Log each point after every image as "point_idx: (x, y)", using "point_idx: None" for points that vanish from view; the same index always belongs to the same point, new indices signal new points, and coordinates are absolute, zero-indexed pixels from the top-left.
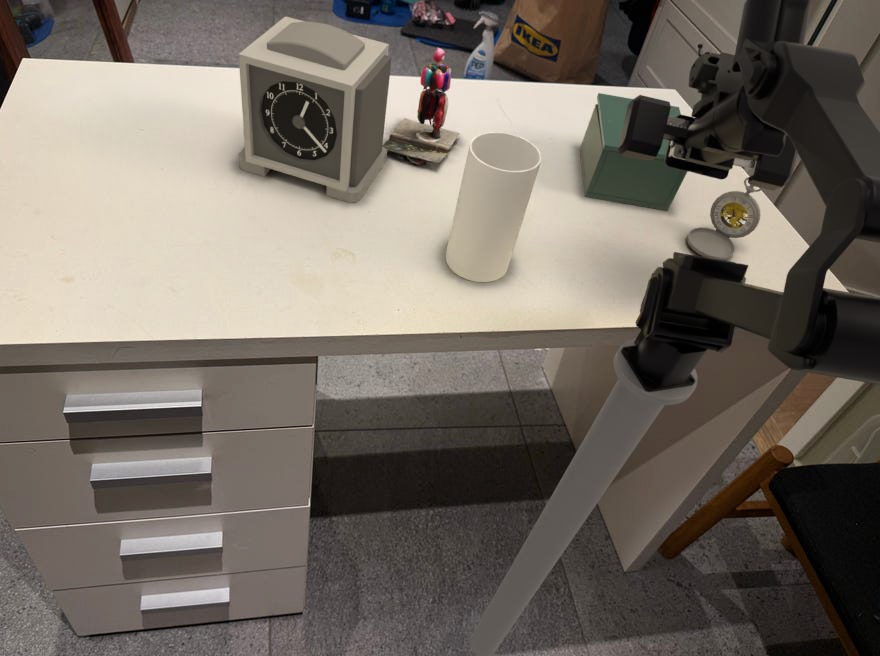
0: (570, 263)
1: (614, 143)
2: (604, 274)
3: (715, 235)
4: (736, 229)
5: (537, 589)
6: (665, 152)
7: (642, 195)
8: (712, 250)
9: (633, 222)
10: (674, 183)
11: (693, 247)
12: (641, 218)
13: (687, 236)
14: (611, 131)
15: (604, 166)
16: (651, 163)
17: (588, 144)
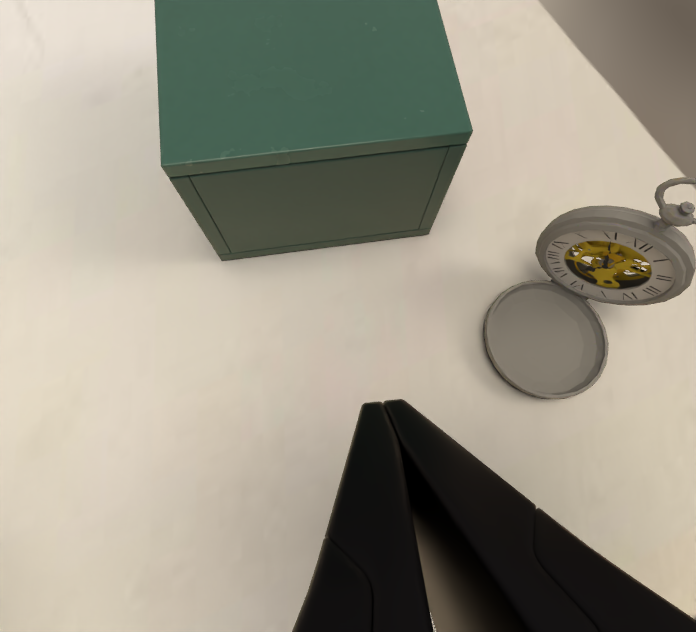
0: (180, 585)
1: (196, 146)
2: (278, 593)
3: (551, 291)
4: (610, 291)
5: None
6: (377, 127)
7: (356, 229)
8: (550, 354)
9: (348, 316)
10: (429, 191)
11: (504, 376)
12: (367, 290)
13: (485, 334)
14: (186, 84)
15: (213, 209)
16: (344, 171)
17: None
